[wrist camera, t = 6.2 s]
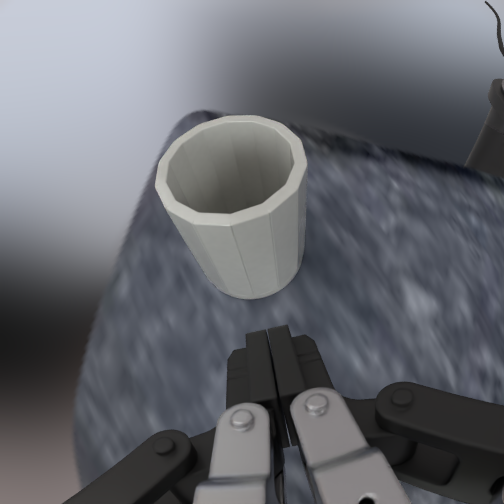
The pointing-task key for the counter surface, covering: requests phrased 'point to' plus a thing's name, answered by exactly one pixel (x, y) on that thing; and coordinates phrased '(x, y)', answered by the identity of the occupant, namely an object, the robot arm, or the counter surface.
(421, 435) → the robot arm
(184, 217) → the pot
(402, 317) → the counter surface
